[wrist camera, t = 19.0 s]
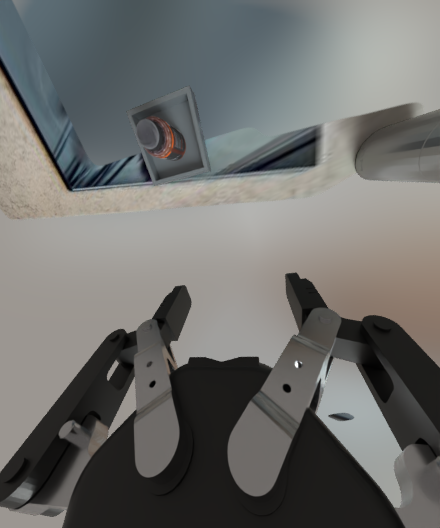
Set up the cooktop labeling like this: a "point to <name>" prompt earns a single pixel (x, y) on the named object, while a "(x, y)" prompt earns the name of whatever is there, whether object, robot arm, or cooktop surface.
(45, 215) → the cooktop surface
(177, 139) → the supplement bottle
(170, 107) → the tray
